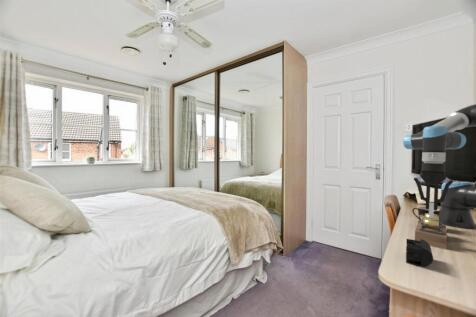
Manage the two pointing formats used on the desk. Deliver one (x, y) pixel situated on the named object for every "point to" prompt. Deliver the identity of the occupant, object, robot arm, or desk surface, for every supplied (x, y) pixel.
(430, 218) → the knob
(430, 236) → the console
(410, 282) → the desk surface
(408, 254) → the end cap
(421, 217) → the coffee mug
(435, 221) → the knob
